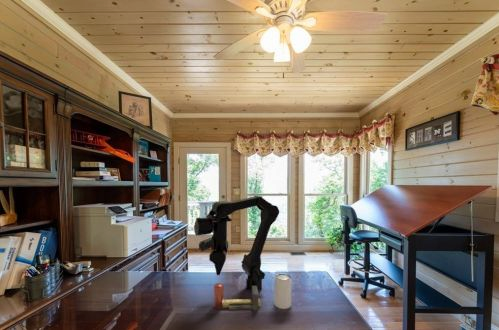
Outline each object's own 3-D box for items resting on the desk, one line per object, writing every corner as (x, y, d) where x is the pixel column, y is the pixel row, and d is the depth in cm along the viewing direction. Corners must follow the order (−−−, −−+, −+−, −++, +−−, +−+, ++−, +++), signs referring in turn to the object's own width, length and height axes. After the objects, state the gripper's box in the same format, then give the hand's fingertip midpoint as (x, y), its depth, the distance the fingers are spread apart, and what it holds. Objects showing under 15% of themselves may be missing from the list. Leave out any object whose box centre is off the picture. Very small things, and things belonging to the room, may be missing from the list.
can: (280, 313, 93) (280, 281, 93) (271, 305, 99) (271, 274, 99) (294, 309, 96) (294, 278, 96) (284, 301, 102) (284, 271, 102)
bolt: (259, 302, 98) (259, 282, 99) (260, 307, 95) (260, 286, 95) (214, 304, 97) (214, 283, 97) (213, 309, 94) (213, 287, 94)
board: (263, 300, 102) (263, 283, 102) (267, 316, 91) (267, 296, 91) (197, 302, 101) (197, 284, 101) (192, 318, 90) (192, 298, 90)
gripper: (204, 227, 112) (203, 262, 112) (196, 238, 94) (195, 280, 93) (228, 227, 112) (228, 262, 112) (225, 238, 94) (225, 280, 94)
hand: (219, 270), depth 103 cm, fingers open, 9 cm apart
